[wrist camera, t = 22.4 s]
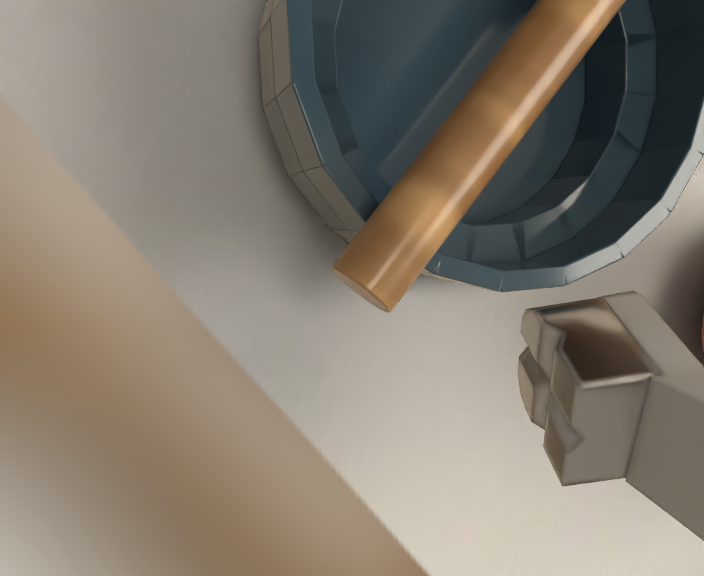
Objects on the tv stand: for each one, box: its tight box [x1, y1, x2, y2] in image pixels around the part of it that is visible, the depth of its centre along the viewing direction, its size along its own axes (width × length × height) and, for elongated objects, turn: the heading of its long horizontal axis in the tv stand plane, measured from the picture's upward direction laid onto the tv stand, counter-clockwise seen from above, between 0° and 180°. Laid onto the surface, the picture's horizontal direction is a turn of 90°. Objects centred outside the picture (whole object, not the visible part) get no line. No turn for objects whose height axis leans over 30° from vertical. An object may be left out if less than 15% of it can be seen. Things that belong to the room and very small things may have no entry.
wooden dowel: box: [331, 0, 626, 313], centre depth 22 cm, size 22×4×2 cm, turn 141°
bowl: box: [258, 0, 704, 292], centre depth 26 cm, size 18×18×6 cm
